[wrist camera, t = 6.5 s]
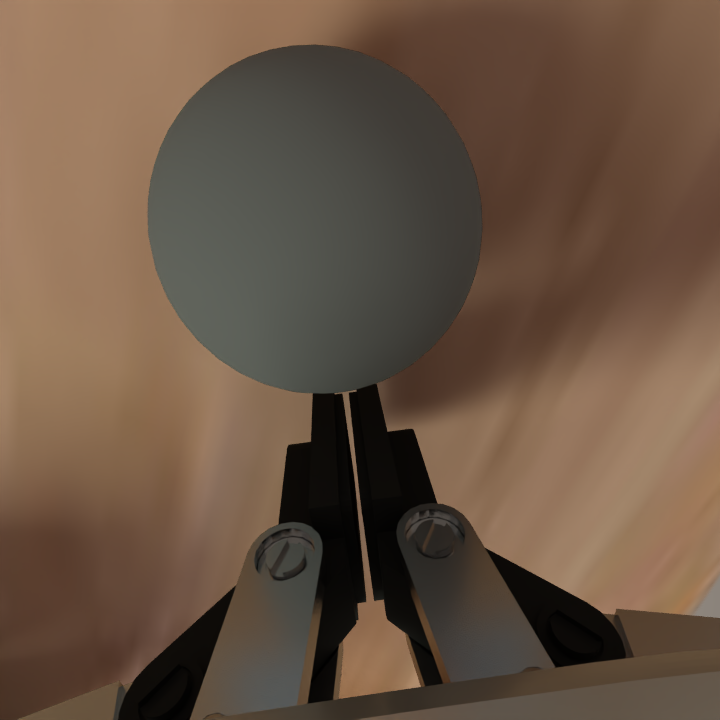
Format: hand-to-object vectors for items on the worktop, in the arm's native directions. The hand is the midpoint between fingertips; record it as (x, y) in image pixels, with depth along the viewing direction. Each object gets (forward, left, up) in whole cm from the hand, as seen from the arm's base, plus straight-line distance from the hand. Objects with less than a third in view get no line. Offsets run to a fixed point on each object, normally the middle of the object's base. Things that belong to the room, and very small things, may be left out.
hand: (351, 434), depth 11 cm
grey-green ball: (+5, 0, +1) cm, 6 cm away
